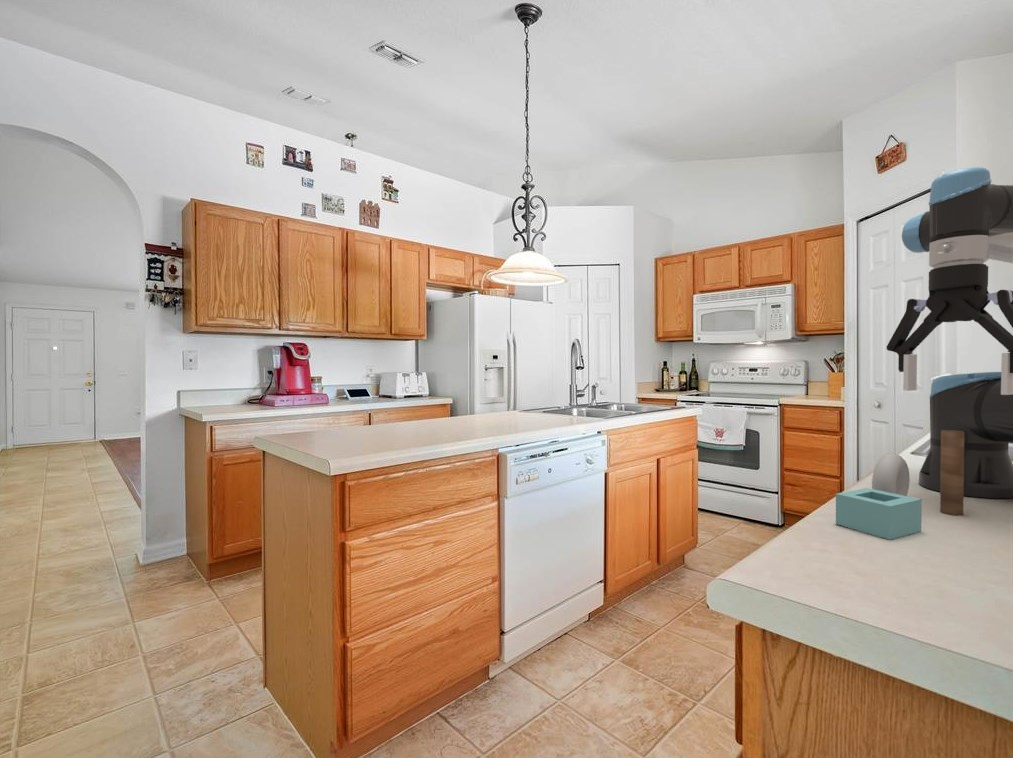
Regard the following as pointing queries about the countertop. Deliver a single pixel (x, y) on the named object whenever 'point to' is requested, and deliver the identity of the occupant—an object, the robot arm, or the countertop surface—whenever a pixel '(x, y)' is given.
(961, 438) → the thick dowel
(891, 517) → the teal socket block
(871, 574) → the countertop surface
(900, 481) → the grey rounded flat slab
